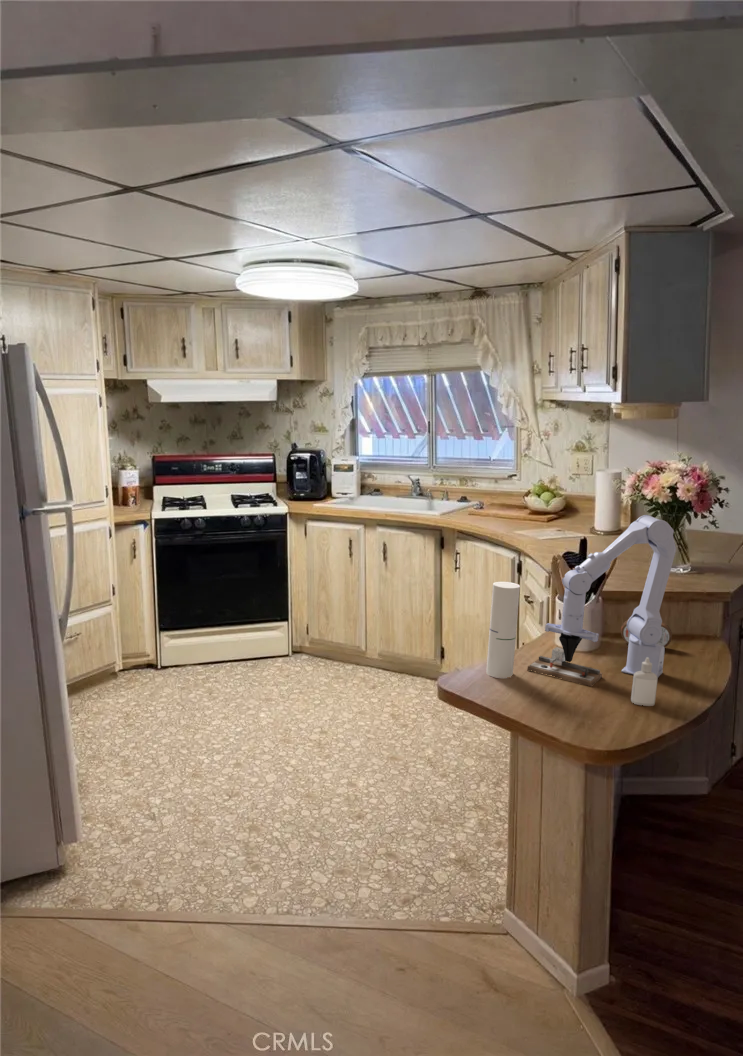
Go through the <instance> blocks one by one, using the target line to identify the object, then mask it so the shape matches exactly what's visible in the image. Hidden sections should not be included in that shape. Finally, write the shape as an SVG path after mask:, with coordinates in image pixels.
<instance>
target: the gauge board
mask: <svg viewBox="0 0 743 1056" xmlns="http://www.w3.org/2000/svg"><path fill="white" fill-rule="evenodd" d="M551 659H552V657H551V658H550V657H548V656H547V657H546V656H543V655H540V656H538V659H536V660H535V661H533V662H532V663H531V664H529V665H527V671H528V670H532V671H536V672H539V673H543V674H547V675H552V676H555V677H558V678H557V679H559V678H562V679H561V680H563V679H564V681H567V680H568V681H567V682H571V681H572V683H575V682H576V683H575V684H579V683H580V685H583V684H584V685H583V686H587V685H588V686H587V687H592V686H594V685H595V684H596V683H597V682H598V681H599V680H600V679H602V678H603V673H602V672H601V669H597V668H592V667H588V666H584V665H581V664H576V663H573V662H567V661H566V662H564V661H563V663H562V666H559V665H555V664H553V667H552V668H550V660H551ZM532 671H531V672H532ZM539 673H538V674H539ZM543 674H542V675H543ZM547 675H546V676H547ZM555 677H554V678H555Z"/></svg>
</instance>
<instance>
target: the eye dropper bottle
mask: <svg viewBox="0 0 743 1056" xmlns="http://www.w3.org/2000/svg"><path fill="white" fill-rule="evenodd" d="M651 671H652V663H650V661H649V658H646V660H645V662H642V667H641V671H637V672H635V673H634V675H633V677H632V686H631V694H630V695H631V696H630V702H631V703H632V704H633V703H634V705H638V706H642V705H643V706H642V707H653V706H655V703H656V698H657V697H656V696H657V687H658V681H659V679H658V678H659V677H658V678H657V676H656V674H654V673H652V672H651Z"/></svg>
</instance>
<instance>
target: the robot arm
mask: <svg viewBox="0 0 743 1056" xmlns="http://www.w3.org/2000/svg"><path fill="white" fill-rule="evenodd" d="M674 532H675V530H674V528H673V527H671V525H670V524H669V523H668V522H667V521H665V519H664V520H663V519H659V518H656V517H653V516H652V515H650V514H643V515H641V516H639V517H638V518H637V519H636V520H634V521H633V522H631V523H630V525H628V527H627V528H626V529H625V530H624V531H623V532H622V533H621V534H620V535H619V536H618V537H617V538H616V539H615V540H614V541H613V542H611V544H609V545H608V546H607V547H606V548H605V549H604V550H602V552H601V551H594V553H591V552H590V553H589V554H588V555H587V557H588V558H587V559H585V560H584V561H583V562H581V563H580V564H579V565H575V566H574V569H570V570H568V571H567V572H566V573H565V574H564V576H563V577H562V578H561V582H562V585H563V587H564V595H563V602H562V603H563V604H562V605H563V606H562V613H561V615H562V616H561V624H556V623H549V622H548V623H546V624H545V627H544V631H545V632H551V633H556V634H560V635H559V638H558V639H559V640H558V641H559V642H560V644H561V646H562V647H561V648H563V650H564V655H565V661H566V662H568V663H572V661H573V658H574V655H575V652H576V650H577V649H578V646H579V644H580V643H581V641H582V640H586V641H587V640H589V641H591V642H593V643H596V642H598V641H599V633H598V632H597V633H596V632H593V631H590V630H587V629H584V628H583V627H584V619H585V618H584V616H585V615H584V614H585V607H586V606H585V604H586V595H587V594H586V593H587V592H589V590H590V589H591V585H592V583H593V582H595V581H596V580H597V579H598V578H600V577H601V576H602V575H603V574H604V573H605V572H607V571H608V570H609V569H610V568H611V563H612V561H614V560H615V559H616V558H617V557H619V556H620V555H622V554H623V553H624V552H625V551H628V550H629V549H630V548H631V547H632V546H634V545H640V544H641V545H642V544H644V545H645V544H648V545H649V547H650V548H651V549H652V551H653V554H652V557H651V562H650V565H649V569H648V572H647V577H646V579H645V584H644V586H643V587H644V588H643V591H642V594H641V598H640V602H639V605H638V606H636V607H634V608H633V610H632V611H633V612H632V614H631V616H630V617H628V619H627V620H628V621H627V620H626V621H627V629H628V631H629V632H630V637H629V644H628V645H627V647H628V648H627V655H626V656H627V657H626V664H625V666H624V667H623V668H622V669H621V673H625V674H628V675H633V676H634V673H635V672H637V671H641V667H642V662H645V660H646V658H649V661H650V663H652V671H651V672H652V673H654V674H656V676H657V678H659V677H660V676H661V675H662V674H663V669H664V668H663V667H664V659H665V652H666V651H665V648H664V646H661V645H659V644H657V642H658V641H659V640H660V638H661V636H662V630H661V624H662V622H663V619H662V616H661V612H660V610H661V606H662V604H663V603H662V602H663V600H664V599H663V598H664V595H665V592H666V588H667V585H668V582H669V577H670V575H671V571H672V566H673V563H674V559H675V556H676V553H677V547H676V542H675V539H674Z"/></svg>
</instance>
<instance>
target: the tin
mask: <svg viewBox="0 0 743 1056" xmlns="http://www.w3.org/2000/svg"><path fill="white" fill-rule="evenodd" d="M628 620H629V619H627V620H626V621H623V623H622V625H621V628H620V634H621V637H622V639H623V641H624V642H625V643H627V644H628V645H629V637H630V632H629V631H628V629H627V621H628ZM661 630H662V636H661V638H660V640H659V641H658V642H657V644H659V645H661V646H664V649H665V648H667V647H668V646H669V645H670V643H671V642H672V638H673V634H672V633H673V632H672V629H671V628H670V626H669V625H668V624H666V623H665V622H663V621H662V624H661Z"/></svg>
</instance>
